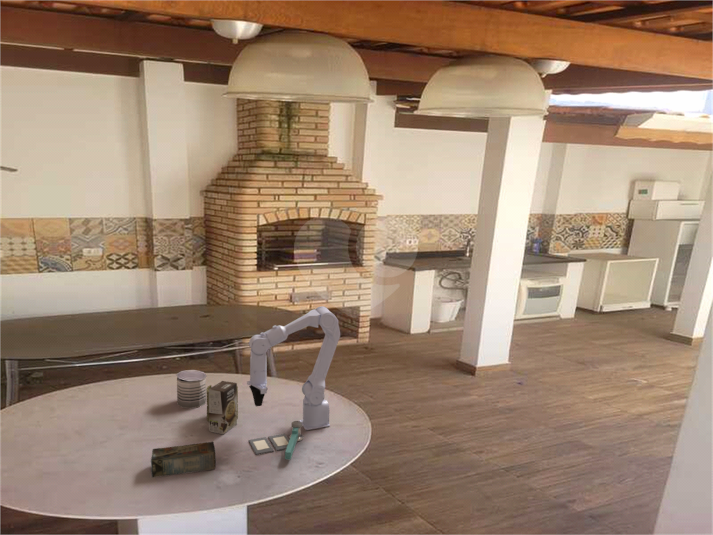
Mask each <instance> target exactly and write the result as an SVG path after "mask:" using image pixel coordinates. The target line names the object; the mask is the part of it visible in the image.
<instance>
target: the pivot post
mask: <svg viewBox="0 0 713 535" xmlns="http://www.w3.org/2000/svg"><path fill="white" fill-rule="evenodd" d="M301 428H302V427H300V428H298V439H297V442H296V443H298V442H302V441H303V440H305V439H304V438H305V436H304V435H303V434H301ZM291 435H292V433H291V434H290V435H289V436H288V439H289V440H290V437H291Z"/></svg>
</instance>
